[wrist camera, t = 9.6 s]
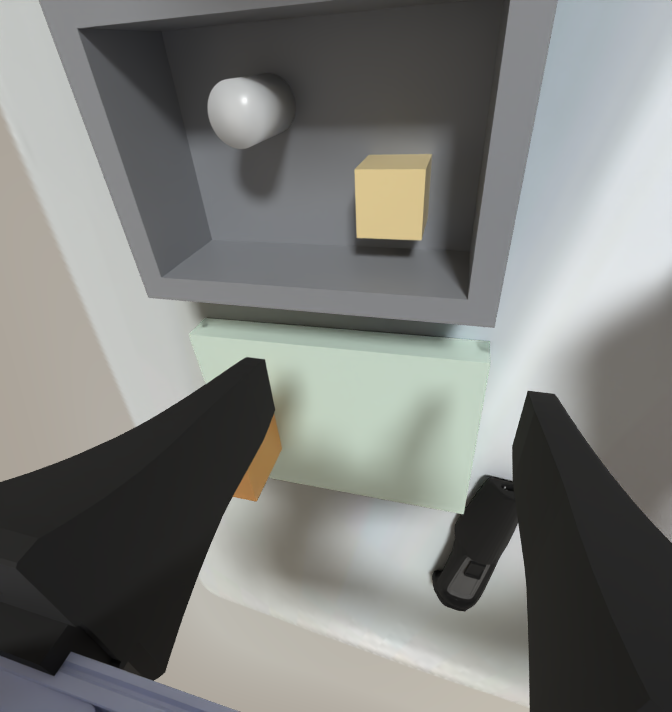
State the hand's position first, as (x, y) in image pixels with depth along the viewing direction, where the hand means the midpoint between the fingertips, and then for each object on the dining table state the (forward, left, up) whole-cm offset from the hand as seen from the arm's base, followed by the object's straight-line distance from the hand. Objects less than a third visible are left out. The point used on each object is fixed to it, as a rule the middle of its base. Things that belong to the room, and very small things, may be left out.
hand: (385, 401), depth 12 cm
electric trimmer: (-5, +21, -10) cm, 23 cm away
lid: (+4, +10, -9) cm, 14 cm away
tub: (+4, -5, -9) cm, 11 cm away
